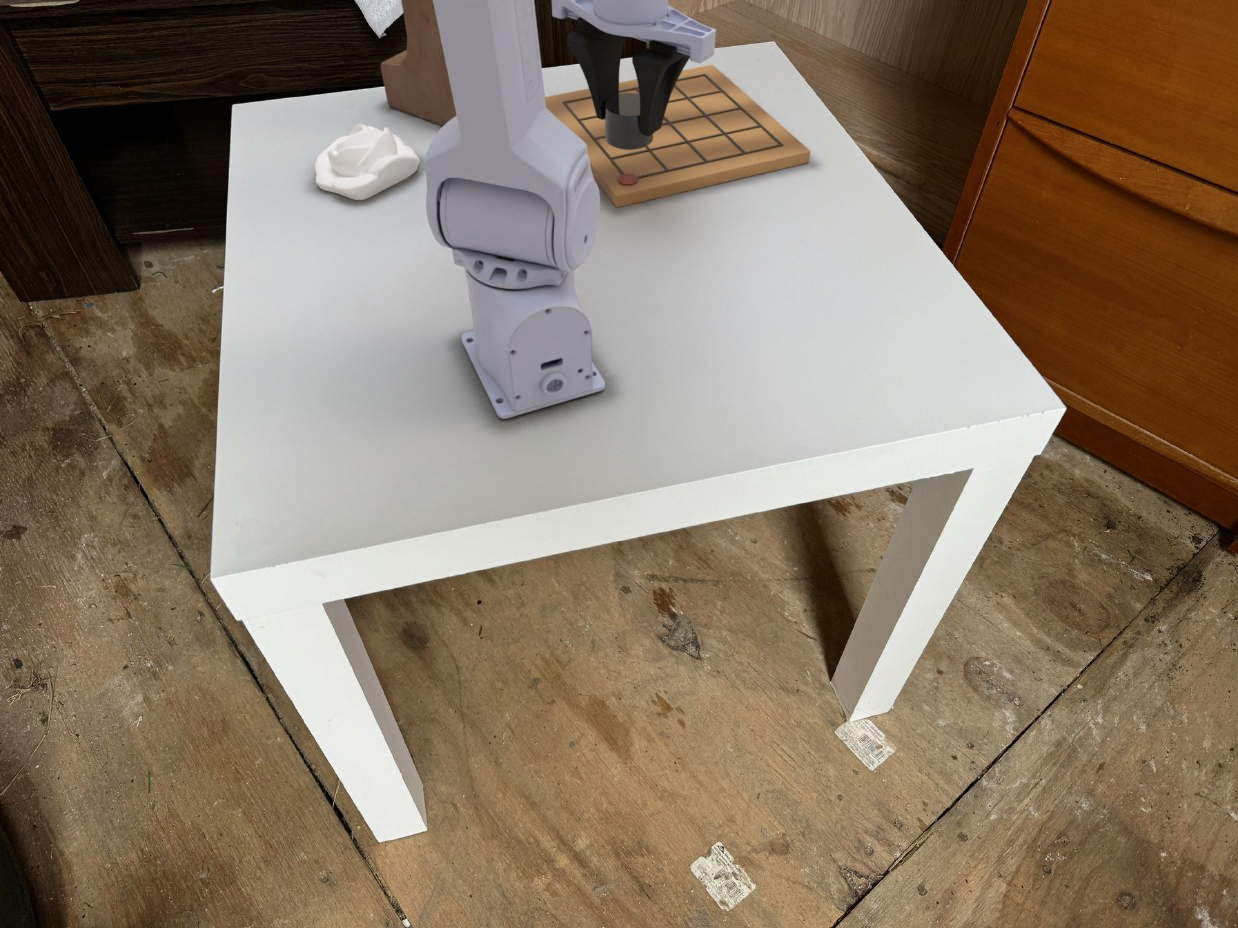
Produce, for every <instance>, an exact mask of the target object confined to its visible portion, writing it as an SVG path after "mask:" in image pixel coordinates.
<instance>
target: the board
mask: <svg viewBox="0 0 1238 928" xmlns="http://www.w3.org/2000/svg"><path fill="white" fill-rule="evenodd" d="M621 93H637V94H639V87H638V81H637V78H636V79H631V80H626V81H621V82H620V81H619V94H621ZM545 102H546V108H547V109H548V110H549V111H550V112H551V113H552V114H553V115H554V116H555V117H556V118H558V119H559V120H560V121H561V122H562V123H564V124H565V125H566V126H567V127H568V128H569V129H571V130H572V131H573V132H574V133H575V134H576V135H577V136H578V137H579V138H581V139H582V140H583V141H584V142H585V143H586V145H587V150H588V156H589V158H590V165H591V170H592V174H593V177H594V180H595V182H596V183H597V185H598V187H600V189H601V190H602V191H603V192H604V193H605V195H606V196H607V197H608V199H609V200H610V201H611V202H612V204H613V205H614V206H615V208H621V207H626V206H629V205H633V204H634V205H635V204H638V203H642V202H647V201H650V200H655V199H659V198H664V197H667V196H671V195H672V196H673V195H676V194H681V193H684V192H689V191H693V190H698V189H702V188H706V187H710V186H715V185H719V184H723V183H727V182H731V181H732V182H733V181H737V180H741V179H744V178H749V177H753V176H757V175H761V174H766V173H771V172H774V171H775V172H776V171H778V170H783V169H787V168H792V167H795V166H800V165H804V164H808V163H810V158H811V150H810V149H809V148H807V146H805V145H804V144H803V143H802V142H801V141H800V140H799V139H798V138H797V137H795V135H793V134H792V133H791V132H789V130H787V128H785V127H784V126H783V125H782V124H781V123H779V121H777V120H776V119H775V118H774V117H773V116H771V114H769V113H768V112H767V111H766V110H765V109H764V108H762V107H761V106H760V105H759V104H758V103H757V102H756V101H755V100H753V99H752V98H751V97H750V96H749V95H748V94H746V92H744V91H743V90H742V89H741V88H740V87H738V85H736V84H735V83H734V81H732V80H731V79H729V77H727V75H725V74H724V73H723V72H722V71H720V69H718V68H717V66H715V65H714V64H709V65H703V66H699V67H693V68H688V69H683V70H682V72H681V74H680V76H679V78H678V80H677V82H676V84H675V86H674V88H673V91H672V93H671V96H670V99H669V102H668V105H667V108H666V111H665V115H664V118H663V122H662V126H661V128H660V129H659V130H657V131H656V132H655V133H653V141H652V142H651V143H650V144H649V145H648V146H646V147H643V148H640V149H634V150H625V149H619V148H616V147H613V146H611V145H610V144H608V143H607V141H606V140H605V119H604V120H601V119H599V118H597V115H596V112H595V108H594V104H593V100H592V97H591V93H590V90H589V88H584V89H579V90H575V91H574V90H573V91H569V92H563V93H559V94H554V95H549V96H545Z"/></svg>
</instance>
